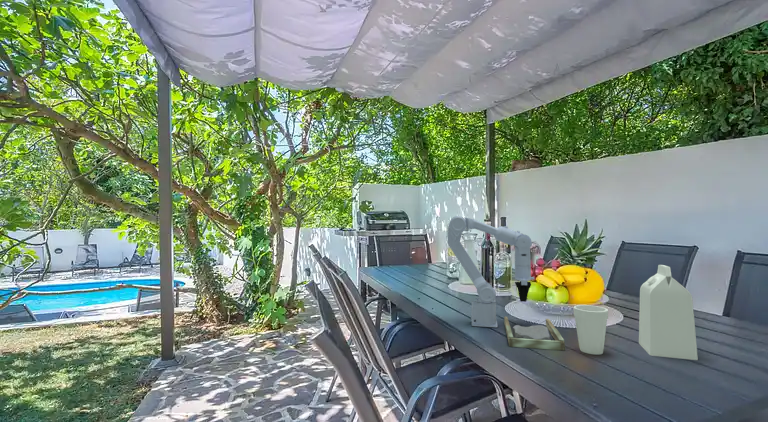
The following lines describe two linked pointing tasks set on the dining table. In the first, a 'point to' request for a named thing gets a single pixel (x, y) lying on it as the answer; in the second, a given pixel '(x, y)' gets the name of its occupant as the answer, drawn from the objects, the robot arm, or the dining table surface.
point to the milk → (666, 317)
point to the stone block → (531, 332)
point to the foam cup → (591, 327)
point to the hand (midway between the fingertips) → (523, 301)
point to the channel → (536, 343)
